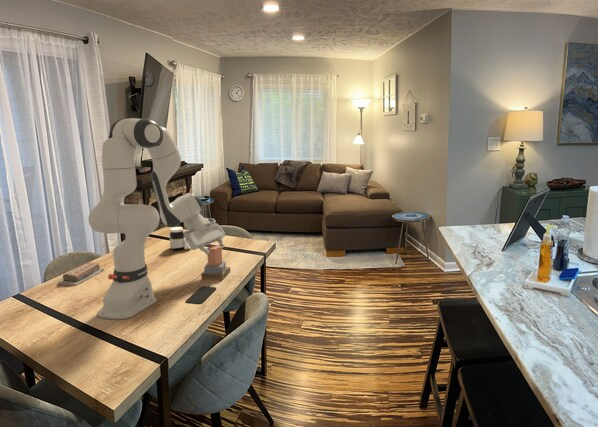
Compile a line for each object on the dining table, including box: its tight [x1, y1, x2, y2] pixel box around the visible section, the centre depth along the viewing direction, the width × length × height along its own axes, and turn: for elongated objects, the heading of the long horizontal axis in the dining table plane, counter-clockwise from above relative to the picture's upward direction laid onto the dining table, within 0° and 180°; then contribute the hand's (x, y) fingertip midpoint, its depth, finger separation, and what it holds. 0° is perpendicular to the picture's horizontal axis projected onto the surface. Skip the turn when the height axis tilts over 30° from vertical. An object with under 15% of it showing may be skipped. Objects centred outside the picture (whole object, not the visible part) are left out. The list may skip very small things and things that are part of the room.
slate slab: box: [203, 260, 227, 274], centre depth 183 cm, size 8×8×3 cm
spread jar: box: [169, 226, 192, 252], centre depth 222 cm, size 12×11×12 cm
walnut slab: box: [200, 266, 231, 281], centre depth 184 cm, size 10×10×3 cm
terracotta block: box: [206, 244, 223, 266], centre depth 183 cm, size 4×4×8 cm
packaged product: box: [57, 261, 104, 286], centre depth 185 cm, size 18×5×10 cm
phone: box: [184, 285, 217, 305], centre depth 164 cm, size 7×1×15 cm
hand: (216, 250), depth 182 cm, fingers open, 8 cm apart
